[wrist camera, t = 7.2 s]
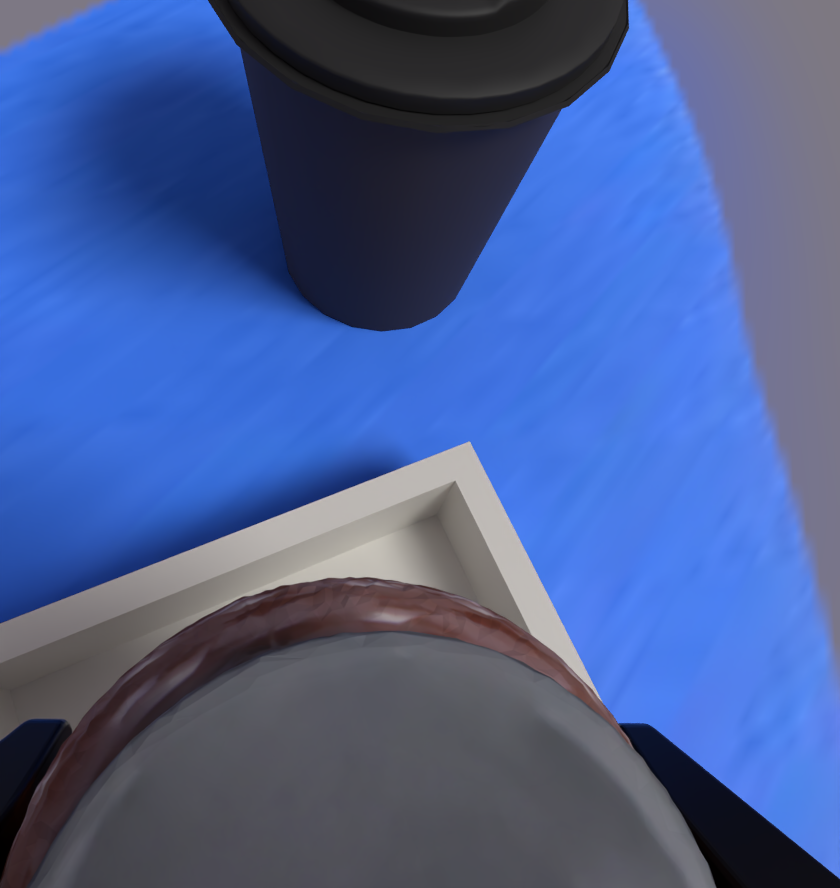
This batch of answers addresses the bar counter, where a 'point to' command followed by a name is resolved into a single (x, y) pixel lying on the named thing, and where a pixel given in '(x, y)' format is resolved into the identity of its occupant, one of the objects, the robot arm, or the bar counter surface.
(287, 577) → the tray
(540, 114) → the coffee cup
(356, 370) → the bar counter surface
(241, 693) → the supplement bottle
